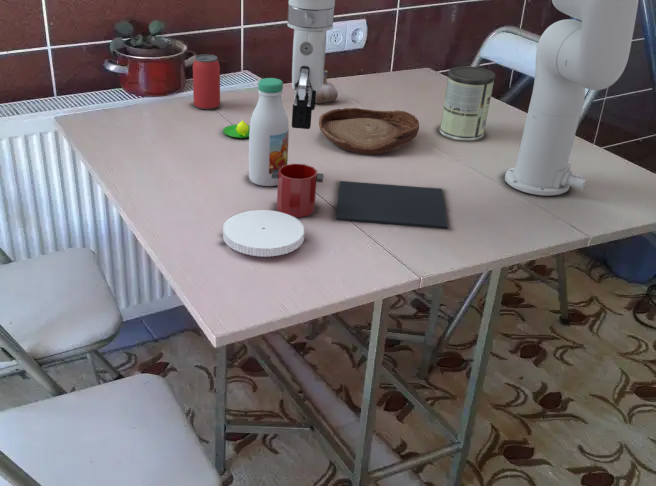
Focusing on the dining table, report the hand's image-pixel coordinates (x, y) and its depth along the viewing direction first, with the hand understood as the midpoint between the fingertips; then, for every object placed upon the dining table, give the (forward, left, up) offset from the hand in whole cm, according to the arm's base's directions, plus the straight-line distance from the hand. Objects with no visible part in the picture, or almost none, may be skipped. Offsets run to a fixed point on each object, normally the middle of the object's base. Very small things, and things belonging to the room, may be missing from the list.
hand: (303, 118), depth 131 cm
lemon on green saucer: (+32, -22, -17) cm, 42 cm away
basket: (+8, -38, -17) cm, 43 cm away
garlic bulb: (+30, -53, -17) cm, 63 cm away
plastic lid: (-3, +15, -17) cm, 23 cm away
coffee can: (-7, -56, -17) cm, 59 cm away
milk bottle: (+12, -6, -17) cm, 22 cm away
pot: (0, +1, -17) cm, 17 cm away
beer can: (+50, -31, -17) cm, 61 cm away
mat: (-13, -12, -17) cm, 25 cm away
